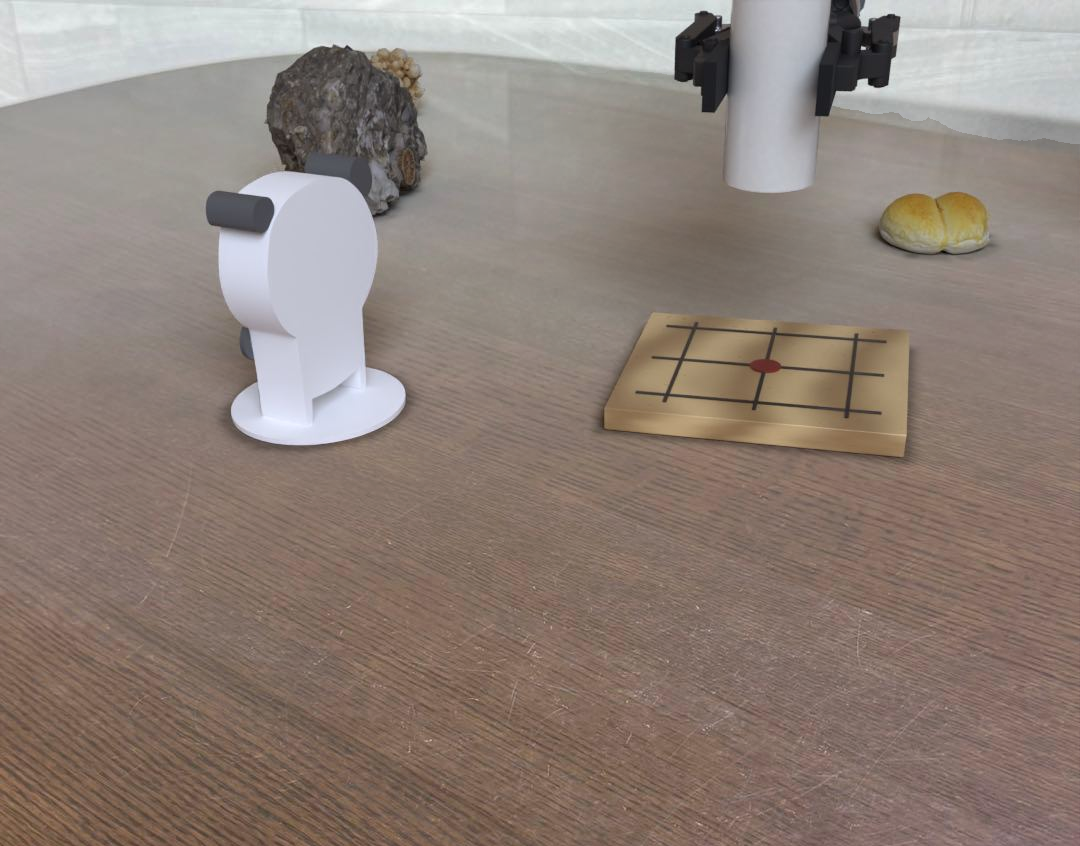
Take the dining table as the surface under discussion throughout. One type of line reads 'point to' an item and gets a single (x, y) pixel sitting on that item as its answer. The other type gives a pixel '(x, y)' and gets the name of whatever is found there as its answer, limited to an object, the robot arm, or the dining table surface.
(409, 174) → the rock
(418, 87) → the mineral formation
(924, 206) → the bread roll
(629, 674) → the dining table surface
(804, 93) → the white tube
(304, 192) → the white plastic upright piece
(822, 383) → the game board
